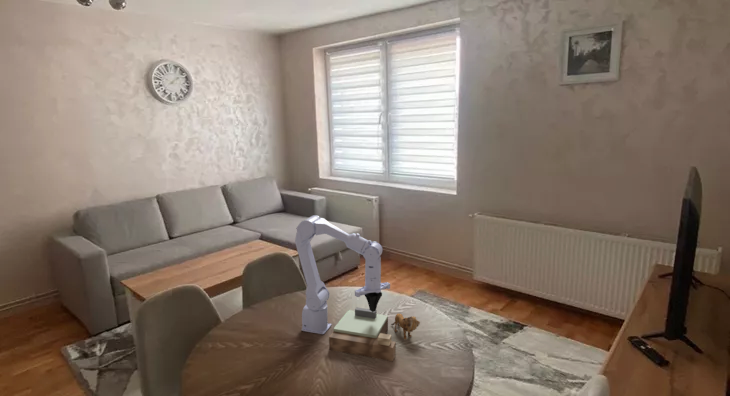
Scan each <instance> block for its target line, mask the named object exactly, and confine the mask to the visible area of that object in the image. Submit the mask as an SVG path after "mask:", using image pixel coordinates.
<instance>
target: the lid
mask: <svg viewBox="0 0 730 396" xmlns="http://www.w3.org/2000/svg"><path fill="white" fill-rule="evenodd" d="M377 312H378V311H377V309H376V311H374V312H372V311H370V309H369V308H363V307H355V309H354V310H352V309H348V310H347V311H346V313H345V314H344V315H342V317H341V319H340V320H339V321H338V322H337V323H336V325H335V326H334V327H333V330H332V332H333V331H335V332H341V333H347V334H353V335H359V336H365V337H371V338H377V336H378V334H379V333H380V331H381V329H382V327H383V326H384V324H385V322H386V320H387V319H388V320H389V315H386V314H380V313H377Z"/></svg>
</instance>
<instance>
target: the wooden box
mask: <svg viewBox="0 0 730 396" xmlns="http://www.w3.org/2000/svg"><path fill="white" fill-rule="evenodd" d="M388 329H389V318H388V319H387V320H386V322H385V324H384V326H383V327H382V329H381V331H380V333H383V334H388V333H387V332H388V331H389V330H388ZM380 333H379V334H380ZM379 334H378V336H379ZM378 336H377V338H371V337H365V336H359V335H353V334H347V333H341V332H335V331H333V330H332V333H331V334H330V335H329V336H328V347H329V349H328V350H329V351H332V352H339V353H344V354H350V355H355V356H361V357H365V358H372V359H378V360H382V361H387V362H388V361H389V362H393V361H394V359H395V357H396V355H397V354H396V350H397V347H396V345H397V344H396V343H397V341H393V340H391V344H390V345H389V346H386V345H380V344H378Z"/></svg>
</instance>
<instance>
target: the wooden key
mask: <svg viewBox="0 0 730 396" xmlns="http://www.w3.org/2000/svg"><path fill="white" fill-rule="evenodd" d="M391 341H392V334H389V333H386V334H383V333H380V334H379V336H378V344H380V345H386V346H389V345H390V344H391Z"/></svg>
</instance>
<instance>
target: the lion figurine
mask: <svg viewBox="0 0 730 396" xmlns="http://www.w3.org/2000/svg"><path fill="white" fill-rule="evenodd" d="M420 324H421V322H420V320H418V319H417V317H416V316H409V317H404V316H403V314H401V313H397V314H395V317H394V322H393V323H391V324H390V325H391V326H394V332H395V333H397V332H398V329H397V328H401V329H402V331H403V340H408V339H407V338H408V337H409V338H411V337H412V334H411V333H413V331H415V330H416V329H417V328H418V327H419V326H420ZM407 336H408V337H407Z"/></svg>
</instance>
